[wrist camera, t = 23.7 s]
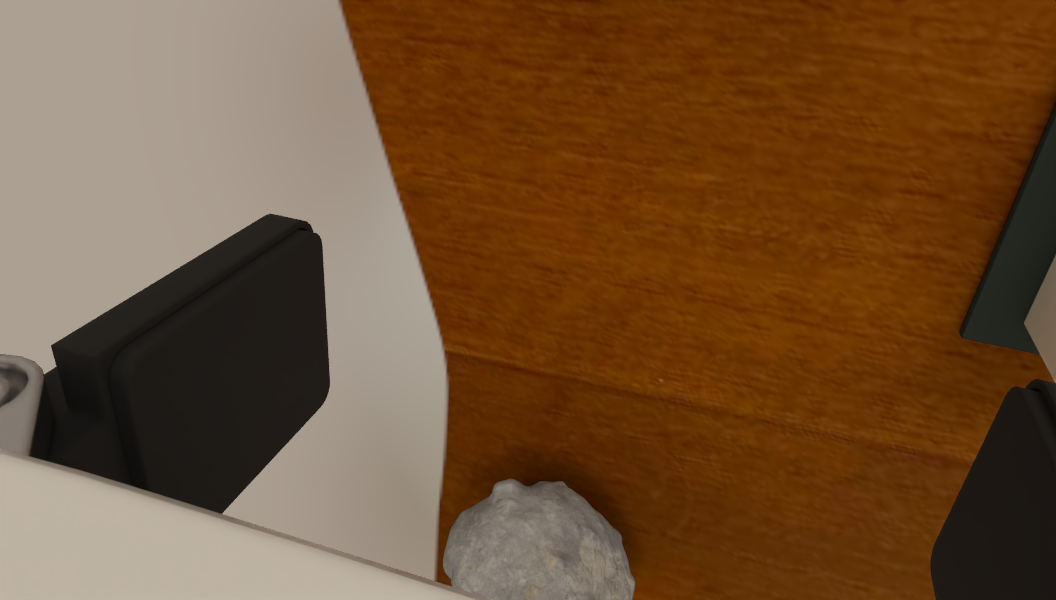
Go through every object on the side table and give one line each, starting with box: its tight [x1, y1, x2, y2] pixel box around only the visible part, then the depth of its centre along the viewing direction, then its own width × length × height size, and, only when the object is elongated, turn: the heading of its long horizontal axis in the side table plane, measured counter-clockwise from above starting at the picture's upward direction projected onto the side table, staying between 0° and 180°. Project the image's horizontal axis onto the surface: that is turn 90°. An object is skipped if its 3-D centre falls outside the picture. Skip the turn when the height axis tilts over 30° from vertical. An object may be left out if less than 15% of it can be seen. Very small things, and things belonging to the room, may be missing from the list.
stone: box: [443, 479, 635, 600], centre depth 38 cm, size 9×7×10 cm
